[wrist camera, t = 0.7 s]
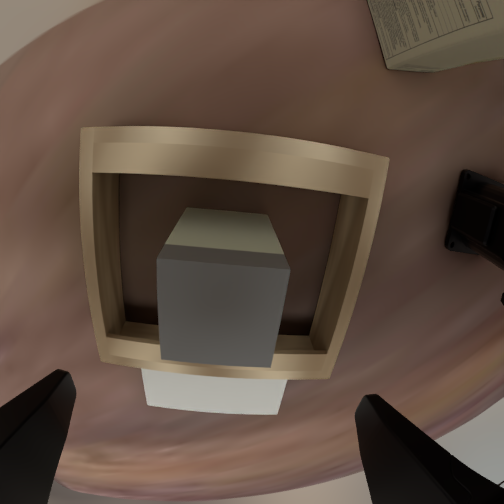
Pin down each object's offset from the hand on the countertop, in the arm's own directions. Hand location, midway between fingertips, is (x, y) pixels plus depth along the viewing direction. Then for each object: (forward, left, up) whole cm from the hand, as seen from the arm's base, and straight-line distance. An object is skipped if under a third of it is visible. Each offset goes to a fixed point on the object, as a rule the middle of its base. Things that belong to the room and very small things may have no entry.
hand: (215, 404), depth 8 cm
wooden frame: (0, 0, -13) cm, 13 cm away
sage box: (0, 0, -13) cm, 13 cm away
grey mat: (0, +13, -13) cm, 18 cm away
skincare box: (-10, -17, -13) cm, 23 cm away
